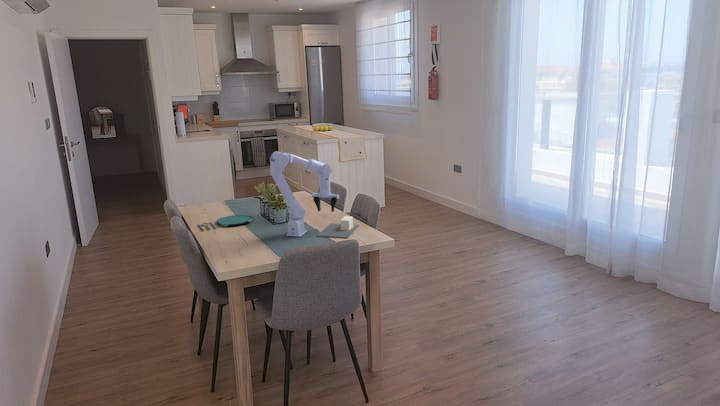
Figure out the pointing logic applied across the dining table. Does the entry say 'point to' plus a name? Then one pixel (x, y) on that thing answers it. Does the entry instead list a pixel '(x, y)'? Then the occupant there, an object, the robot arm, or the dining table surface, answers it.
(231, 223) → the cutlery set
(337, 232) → the mat
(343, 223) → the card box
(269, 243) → the dining table surface
